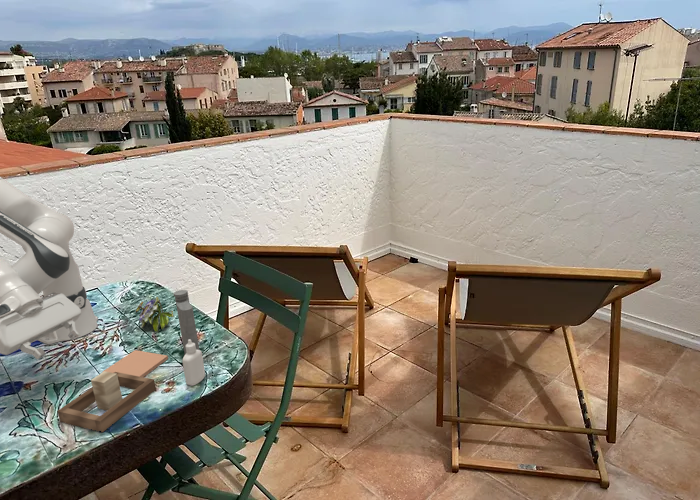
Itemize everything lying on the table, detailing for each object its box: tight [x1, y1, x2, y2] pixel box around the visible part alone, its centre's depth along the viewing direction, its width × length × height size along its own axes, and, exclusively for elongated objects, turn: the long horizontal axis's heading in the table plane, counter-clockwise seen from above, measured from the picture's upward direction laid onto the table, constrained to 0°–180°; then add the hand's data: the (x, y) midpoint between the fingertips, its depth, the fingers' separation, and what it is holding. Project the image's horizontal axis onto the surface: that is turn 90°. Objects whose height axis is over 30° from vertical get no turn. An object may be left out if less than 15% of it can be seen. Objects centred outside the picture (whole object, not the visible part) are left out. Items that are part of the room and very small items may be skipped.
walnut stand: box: [56, 372, 157, 433], centre depth 112 cm, size 13×17×3 cm
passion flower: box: [135, 296, 175, 333], centre depth 153 cm, size 11×11×12 cm
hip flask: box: [173, 289, 200, 355], centre depth 132 cm, size 16×4×20 cm, turn 25°
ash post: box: [90, 370, 123, 412], centre depth 111 cm, size 4×4×8 cm
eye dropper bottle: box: [182, 339, 206, 386], centre depth 120 cm, size 4×6×12 cm
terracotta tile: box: [102, 349, 169, 378], centre depth 129 cm, size 12×12×1 cm
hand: (59, 346), depth 112 cm, fingers open, 8 cm apart
